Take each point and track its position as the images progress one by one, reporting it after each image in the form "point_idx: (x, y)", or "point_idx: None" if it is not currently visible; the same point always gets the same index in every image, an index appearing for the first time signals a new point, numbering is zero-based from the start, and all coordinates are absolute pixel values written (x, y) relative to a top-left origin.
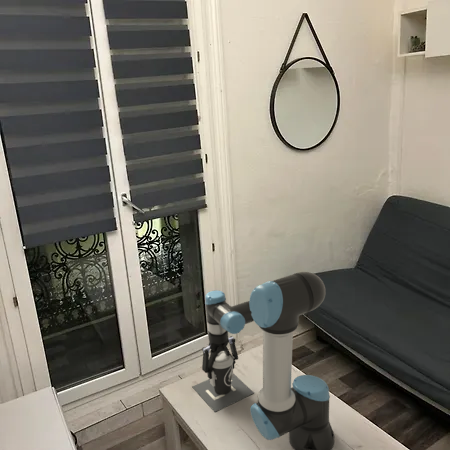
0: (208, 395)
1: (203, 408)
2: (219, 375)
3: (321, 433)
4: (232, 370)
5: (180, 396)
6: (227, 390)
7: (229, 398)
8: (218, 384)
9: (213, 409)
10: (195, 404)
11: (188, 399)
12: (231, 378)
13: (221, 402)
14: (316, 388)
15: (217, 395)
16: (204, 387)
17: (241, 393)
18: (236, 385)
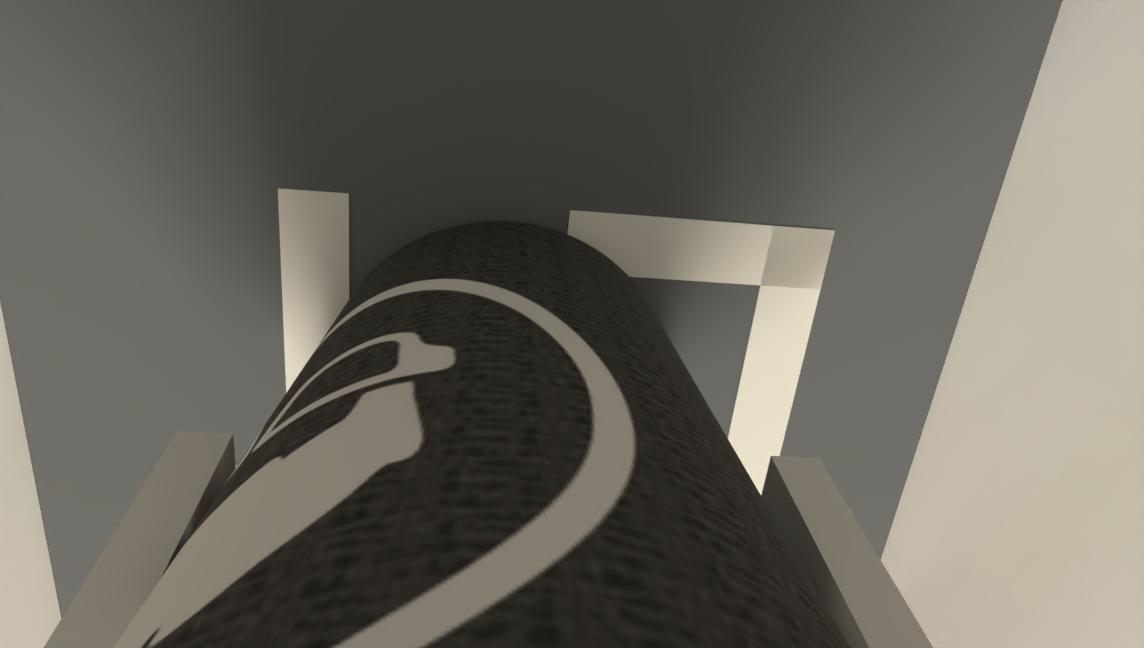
0: (809, 405)
1: (1109, 189)
2: (831, 630)
3: None
4: (87, 615)
5: (1088, 635)
6: (500, 241)
7: (566, 58)
8: (721, 429)
9: (1049, 7)
10: (1104, 365)
11: (1072, 523)
12: None
13: (778, 75)
14: None
15: (689, 304)
16: None
17: (231, 4)
18: (188, 302)
